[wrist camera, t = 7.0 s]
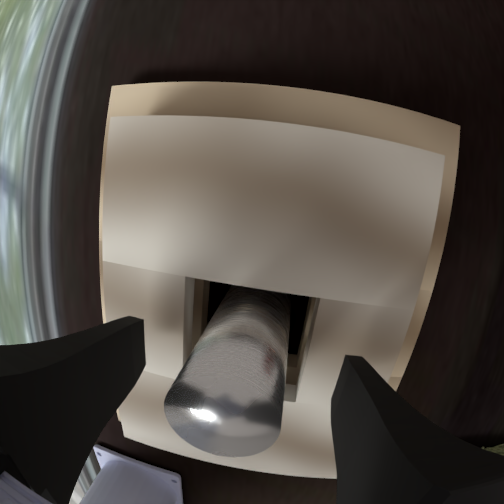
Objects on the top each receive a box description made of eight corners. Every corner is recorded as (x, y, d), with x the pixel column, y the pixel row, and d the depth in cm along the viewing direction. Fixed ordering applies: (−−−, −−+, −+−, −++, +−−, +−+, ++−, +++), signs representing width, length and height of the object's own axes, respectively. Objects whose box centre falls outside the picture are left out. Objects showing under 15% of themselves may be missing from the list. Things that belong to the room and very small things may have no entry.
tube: (283, 339, 15) (267, 465, 8) (221, 326, 16) (164, 440, 8) (297, 281, 14) (293, 391, 7) (230, 267, 15) (164, 361, 7)
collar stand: (356, 452, 17) (361, 495, 13) (125, 410, 18) (101, 444, 15) (448, 128, 12) (490, 118, 8) (124, 91, 13) (80, 74, 10)
